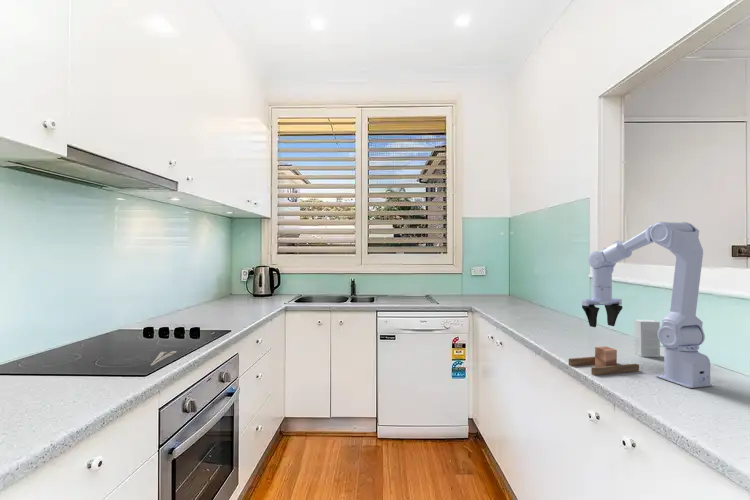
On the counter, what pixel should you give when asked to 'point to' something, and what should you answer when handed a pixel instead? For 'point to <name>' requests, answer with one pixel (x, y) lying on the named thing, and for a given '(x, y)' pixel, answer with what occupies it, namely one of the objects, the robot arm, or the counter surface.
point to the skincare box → (647, 338)
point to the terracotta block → (605, 356)
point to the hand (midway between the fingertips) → (602, 326)
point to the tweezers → (163, 356)
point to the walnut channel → (604, 369)
